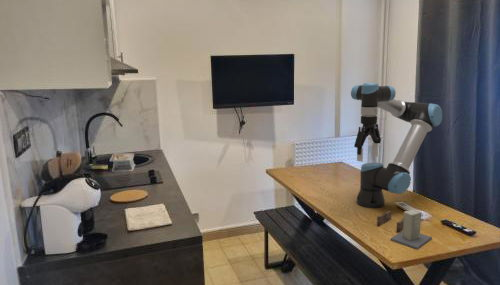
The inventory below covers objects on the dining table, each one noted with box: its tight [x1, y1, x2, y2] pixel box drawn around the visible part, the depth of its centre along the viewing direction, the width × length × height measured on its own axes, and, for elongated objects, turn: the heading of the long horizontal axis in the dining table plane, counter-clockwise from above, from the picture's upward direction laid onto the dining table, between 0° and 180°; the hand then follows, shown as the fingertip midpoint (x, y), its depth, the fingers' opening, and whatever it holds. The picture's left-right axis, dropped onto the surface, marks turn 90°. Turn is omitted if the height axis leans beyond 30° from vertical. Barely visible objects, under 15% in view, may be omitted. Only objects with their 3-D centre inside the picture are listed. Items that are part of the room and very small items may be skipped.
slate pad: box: [390, 230, 433, 250], centre depth 169 cm, size 14×12×1 cm
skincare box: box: [402, 209, 422, 240], centre depth 168 cm, size 6×4×12 cm
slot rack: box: [376, 210, 404, 234], centre depth 184 cm, size 12×11×4 cm
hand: (367, 158), depth 186 cm, fingers open, 13 cm apart
